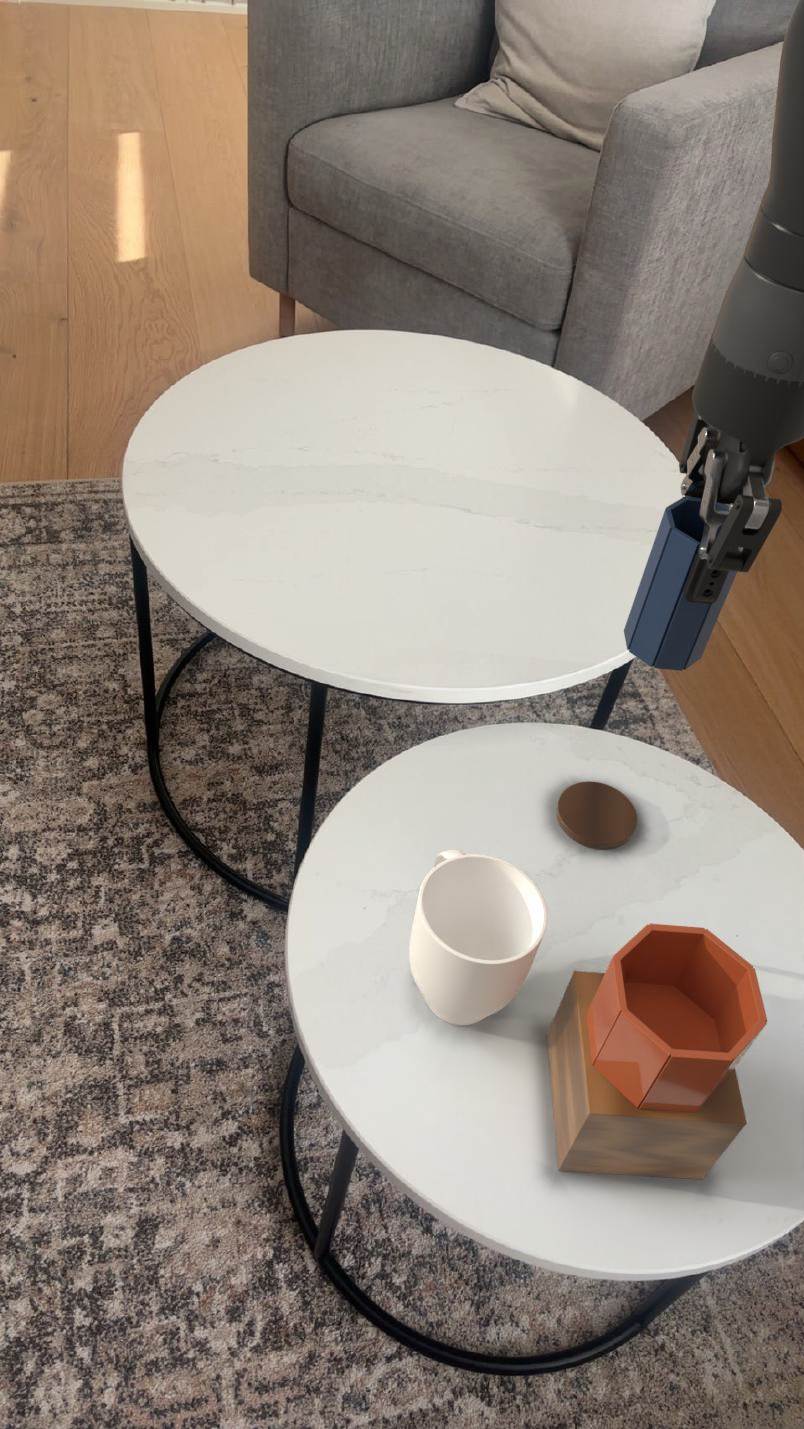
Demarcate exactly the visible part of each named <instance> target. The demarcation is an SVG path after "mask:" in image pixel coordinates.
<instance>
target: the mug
mask: <svg viewBox="0 0 804 1429" xmlns="http://www.w3.org/2000/svg"><path fill="white" fill-rule="evenodd" d="M547 910H548V908H547V905H546V902H545V899H544V896H543V894H542V892H541V890H540V889H539V887H538V886H537V884H535V882H534V881H533V879H532V878H530V877H529V876H528V875H527V874H526V873H525V872H524V871H523V870H521V869H520V868H519V867H517V866H515V865H514V864H512V863H510V862H508V861H506V860H504V859H501V858H499V857H495V856H490V855H486V854H478V853H477V854H475V853H474V854H473V853H470V854H465V852H463V850H460V849H448V850H444V851H441V852H440V853H438V855H437V856H436V857H435V860H434V865H433V868H432V869H431V870H430V871H429V872H428V873H427V875H426V876H425V877H424V879H423V881H422V883H421V885H420V887H419V892H418V896H417V902H416V905H415V911H414V917H413V921H412V926H411V932H410V937H409V947H408V948H409V949H408V955H409V956H408V958H409V960H408V961H409V966H410V971H411V974H412V978H413V980H414V982H415V984H416V986H417V988H418V990H419V992H420V994H421V995H422V997H423V998H424V1000H425V1002H426V1004H427V1005H428V1007H429V1009H430V1010H431V1011H432V1012H433V1014H434V1015H435V1016H436V1017H438V1018H439V1019H440V1020H442V1021H444V1022H446V1023H448V1024H451V1025H455V1026H470V1025H474V1024H477V1023H478V1022H480V1021H482V1020H483V1019H485V1018H488V1017H489V1016H492V1015H493V1014H495V1013H497V1012H498V1011H500V1010H502V1009H503V1008H505V1007H506V1006H507V1005H509V1003H511V1002H512V1001H513V999H514V998H515V997H516V996H517V994H518V993H519V992H520V990H521V988H522V987H523V985H524V983H525V982H526V979H527V977H528V975H529V973H530V970H531V968H532V966H533V964H534V961H535V959H536V955H537V953H538V951H539V948H540V945H541V943H542V941H543V938H544V936H545V933H546V930H547V926H548V911H547Z"/></svg>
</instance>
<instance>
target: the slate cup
mask: <svg viewBox="0 0 804 1429" xmlns="http://www.w3.org/2000/svg"><path fill="white" fill-rule="evenodd" d="M682 497H683V498H682ZM682 497H681V498H680V499H678V500H676V501H674V502H673V503H671V504H669V505H668V506H666V507H665V509H664V512H663V514H662V517H661V521H660V522H659V526H658V528H657V532H656V535H655V538H654V541H653V544H652V547H651V549H650V551H649V552H650V553H649V555H648V558H647V561H646V564H645V567H644V569H643V573H642V576H641V579H640V582H639V585H638V587H637V590H636V594H635V597H634V599H633V603H632V605H631V607H630V611H629V613H628V616H627V620H626V622H625V626H624V628H623V635H624V640H625V645H626V650H628V653H629V654H631V655H633V656H634V657H636V659H639V661H641V662H643V663H644V664H646V665H648V666H649V667H650V668H652V667H653V668H654V669H656V670H657V669H658V670H667V671H668V670H670V671H678V672H679V671H681V672H682V671H686V670H687V669H689V668H690V667H691V666H693V665H694V664H696V663H697V662H698V661H699V660H701V659H702V657H703V656H704V652H705V650H706V647H707V645H708V643H709V640H710V638H711V636H712V633H713V631H714V628H715V626H716V624H717V621H718V619H719V617H720V614H721V612H722V609H723V607H724V604H725V602H726V600H727V598H728V595H729V594H730V590H731V588H732V586H733V583H734V581H735V578H736V576H737V573H738V572H737V571H729V573H728V575H727V578H726V580H725V582H724V585H723V587H722V590H721V592H720V595H719V597H718V599H717V601H716V602H714V603H712V604H703V603H692V602H688V601H686V599H685V595H684V588H685V585H686V583H687V580H688V577H689V575H690V572H691V570H692V567H693V564H694V562H695V559H696V556H697V554H698V551H699V547H700V544H701V539H702V535H703V530H704V525H705V523H704V521H703V520H701V519H700V516H699V512H700V508H701V503H702V498H695V497H686V498H685V496H682ZM715 510H720V511H729V505H728V504H721V503H718V502H716V504H715ZM721 528H722V526H719V527H718V529H717V532H716V537H715V540H716V538H717V536H718V534H719V532H720V530H721ZM714 542H715V541H714Z"/></svg>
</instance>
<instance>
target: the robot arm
mask: <svg viewBox="0 0 804 1429" xmlns="http://www.w3.org/2000/svg"><path fill="white" fill-rule="evenodd" d="M796 1H797V2H796V3H795V6H794V8H793V10H792V13H791V15H790V18H789V20H788V24H787V27H786V29H785V34H784V39H783V43H782V48H781V55H780V60H779V61H780V62H779V70H778V79H777V91H776V100H775V109H774V120H773V127H772V136H771V137H772V138H771V155H770V156H771V157H770V158H771V159H770V173H769V180H768V183H767V185H766V188H765V191H764V193H763V196H762V198H761V201H760V204H759V207H758V210H757V213H756V215H755V218H754V222H753V225H752V228H751V231H750V233H749V238H748V240H747V243H746V246H745V248H744V252H743V254H742V256H741V259H740V262H739V264H738V266H737V268H736V271H735V272H734V275H733V276H732V278H731V280H730V283H729V285H728V287H727V290H726V292H725V295H724V297H723V300H722V303H721V306H720V309H719V312H718V315H717V318H716V322H715V324H714V326H713V330H712V333H711V336H710V339H709V341H708V345H707V348H706V351H705V354H704V356H703V360H702V363H701V366H700V369H699V372H698V375H697V378H696V380H695V384H694V387H693V390H692V393H691V401H692V405H693V408H694V411H693V414H692V417H691V422H690V425H689V429H688V432H687V436H686V440H685V443H684V447H683V451H682V454H681V458H680V461H679V464H678V469H679V470H678V471H679V473H680V474H685V476H684V478H683V479H682V482H681V484H680V494H681V496H682V497H681V498H683V497H685V498H686V497H695V498H702V503H701V508H700V512H699V516H700V519H701V520H703V521H704V523H705V525H704V530H703V535H702V539H701V544H700V547H699V551H698V554H697V556H696V559H695V562H694V564H693V567H692V570H691V572H690V575H689V577H688V580H687V583H686V585H685V588H684V595H685V599H686V601H688V602H692V603H703V604H712V603H714V602H716V601H717V599H718V597H719V595H720V592H721V590H722V587H723V585H724V582H725V580H726V578H727V575H728V573H729V571H737V573H746V574H747V573H749V571H750V570H751V569H752V566H753V564H754V562H755V561H756V559H757V557H758V555H759V554H760V551H761V549H763V546H764V544H765V542H766V541H767V539H768V538H769V536H770V534H771V532H772V530H773V528H774V527H775V525H776V523H777V521H778V519H779V517H780V515H781V512H782V509H783V502H782V499H781V498H775V497H768V496H767V492H766V487H767V486H768V485H769V484H770V483H771V481H772V478H773V475H774V474H773V473H774V468H775V466H776V453H777V452H778V451H779V450H781V449H783V448H785V447H786V446H788V445H791V444H794V443H797V442H799V441H801V440H803V439H804V0H796ZM716 502H718V503H721V504H726V505H728V506H729V511H720V510H715V504H716ZM719 526H722V528H721V530H720V532H719V534H718V536H717V538H716V540H715V537H716V532H717V529H718V527H719ZM714 541H715V542H714Z"/></svg>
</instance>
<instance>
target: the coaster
mask: <svg viewBox="0 0 804 1429" xmlns="http://www.w3.org/2000/svg"><path fill="white" fill-rule="evenodd" d="M555 814H556V819H557V822H558V824H559V826H560V828H561V829H562V831H563V832H564V833H565V835H567V836H568V838H570V839H571V840H573V841H574V842H576V843H578V844H579V845H581V846H584V847H587V848H590V849H593V850H599V851H601V850H603V851H605V850H607V851H608V850H613V849H617V848H621V847H622V846H623V845H625V844H627V843H628V842H629V841H630V840H631V839H632V837H633V835H634V833H635V830H636V828H637V825H638V816H637V815H638V814H637V811H636V809H635V807H634V805H633V803H632V801H631V800H630V799H629V798H628V797H627V796H626V795H625V794H624V793H623V792H621V791H620V790H619V789H617V788H615V787H613V786H611V785H609V784H606V783H603V782H599V781H581V782H576V783H574V784H572V785H569V786H568V787H567V788H566V789H565V790H564V791H563V792H562V793H561V794H560V796H559V798H558V801H557V804H556V809H555Z"/></svg>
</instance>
